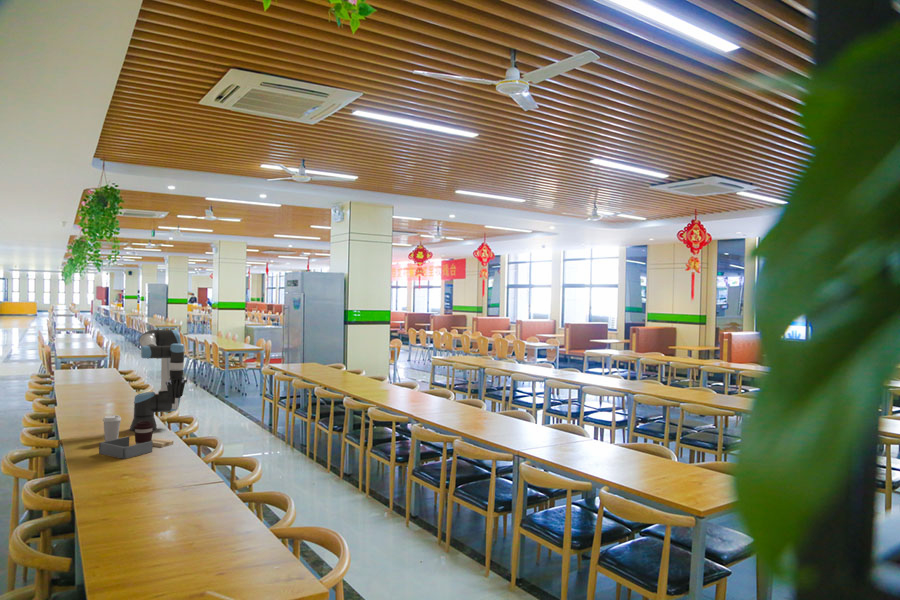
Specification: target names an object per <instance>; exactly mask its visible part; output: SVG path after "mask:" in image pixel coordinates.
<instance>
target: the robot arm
mask: <svg viewBox="0 0 900 600" xmlns="http://www.w3.org/2000/svg"><path fill="white" fill-rule="evenodd" d="M138 342H139V345H140V347H141V349H140V357H141V358H142V359H161V360H160V361H161V365H160V366H161V367H160V368H161V369H160V370H161V371H160V372H161V373H160V389H159V390H158V393H156V392H154V391H148V392H147V391H146V392H145V391H144V392H142V393H138V394H136V395H135V396H134V399H133V400H134V401H133V404H134V405H133V419H132V421H131V424H130V426H129V431H131V432H135V429H134V425H136V424H137V423H138V422H141V421H150V422H151V424H154V427H153V428H152V431H154V430H157V429H158V428H157V422H156V419H155V413H166V412H176V411H177V410H178V409H179V407H180V402H181V398H182V397H183V394H184V391H185V385H186V383H187V380H186V379H184V367H185V366H184V362H185V361H184V360H185V350H186V349H185V344H183V343H182V340H181V334H180V331H179V330H177V329H151V330H147V331H145V332H143V333H142V334H141V335H140V337H139V340H138Z"/></svg>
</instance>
